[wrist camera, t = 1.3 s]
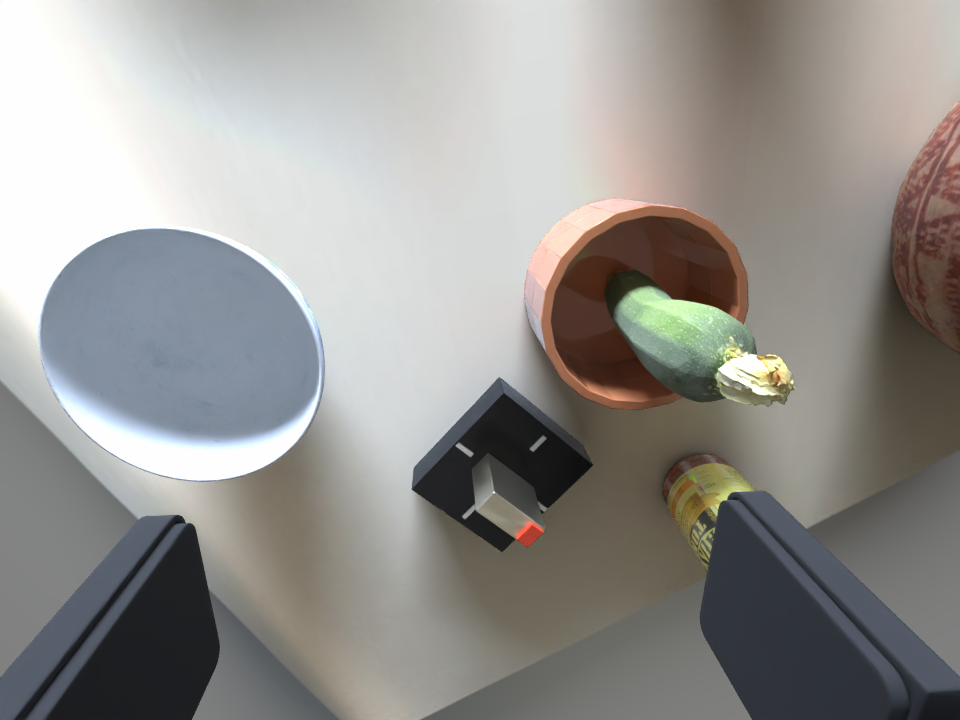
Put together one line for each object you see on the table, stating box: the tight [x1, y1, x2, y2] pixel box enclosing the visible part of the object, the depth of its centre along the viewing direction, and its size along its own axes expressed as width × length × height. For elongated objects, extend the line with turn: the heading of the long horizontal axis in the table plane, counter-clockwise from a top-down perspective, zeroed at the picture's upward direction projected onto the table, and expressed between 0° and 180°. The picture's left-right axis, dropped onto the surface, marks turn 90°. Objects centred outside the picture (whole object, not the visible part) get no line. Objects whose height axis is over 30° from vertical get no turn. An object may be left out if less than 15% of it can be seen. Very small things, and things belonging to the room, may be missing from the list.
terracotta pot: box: [524, 198, 748, 410], centre depth 34 cm, size 12×12×7 cm
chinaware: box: [38, 226, 325, 482], centre depth 33 cm, size 15×15×8 cm
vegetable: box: [604, 270, 795, 407], centre depth 28 cm, size 4×4×20 cm
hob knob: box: [472, 453, 546, 547], centre depth 36 cm, size 5×2×5 cm, turn 48°
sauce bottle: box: [663, 454, 756, 571], centre depth 34 cm, size 6×6×20 cm
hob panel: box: [412, 377, 593, 552], centre depth 40 cm, size 10×9×3 cm
